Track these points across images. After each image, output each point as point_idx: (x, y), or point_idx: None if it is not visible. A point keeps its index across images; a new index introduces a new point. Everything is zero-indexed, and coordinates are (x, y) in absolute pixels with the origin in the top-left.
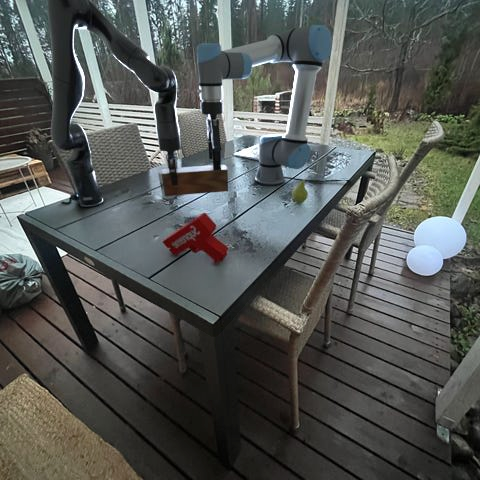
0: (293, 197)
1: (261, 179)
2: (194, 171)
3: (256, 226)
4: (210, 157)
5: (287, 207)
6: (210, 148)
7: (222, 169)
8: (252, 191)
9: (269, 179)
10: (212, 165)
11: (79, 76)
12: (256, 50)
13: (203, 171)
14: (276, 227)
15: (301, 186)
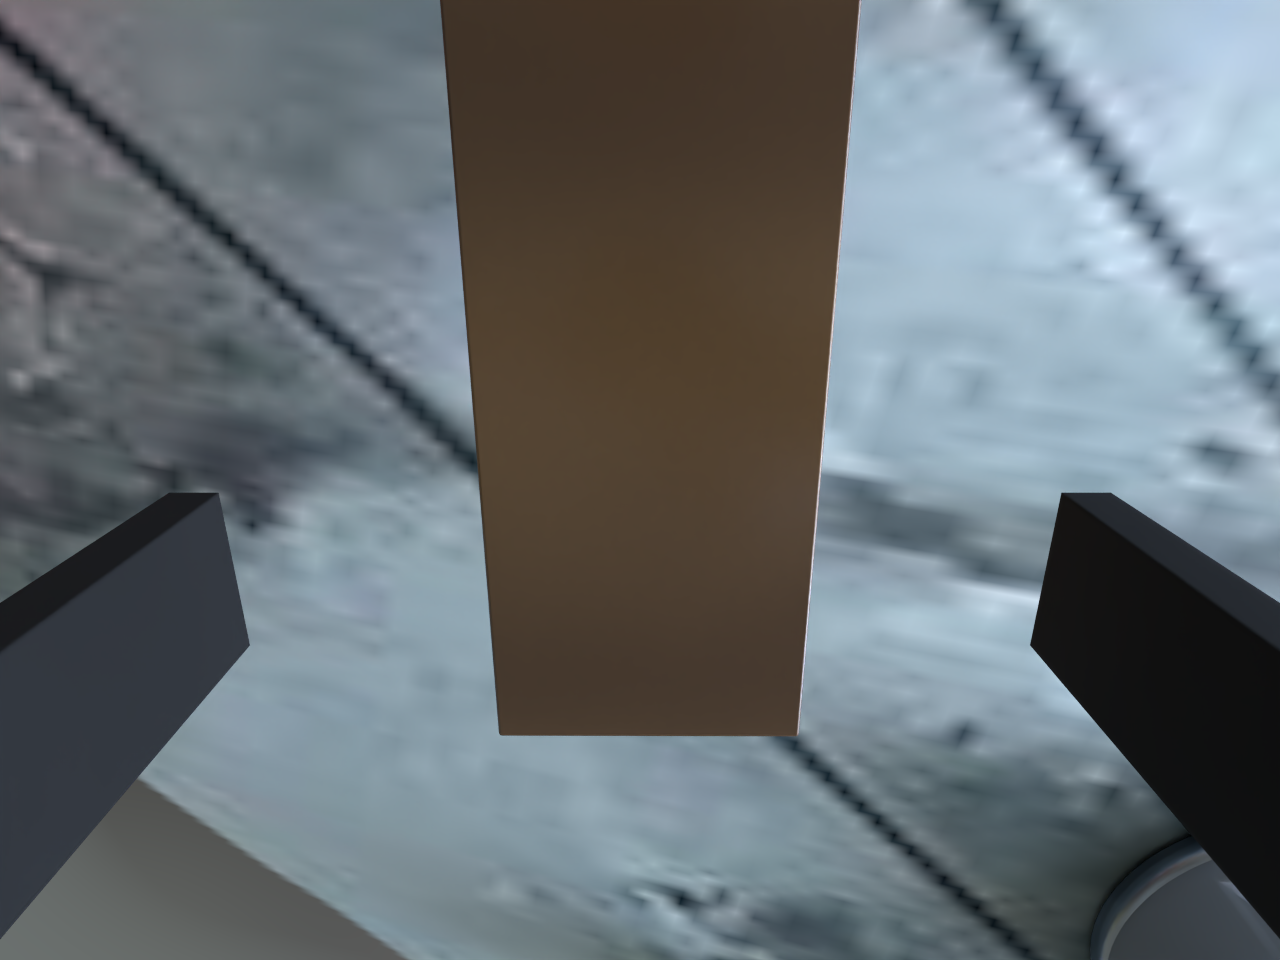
0: None
1: (1204, 885)
2: (445, 22)
3: (345, 618)
4: (1081, 542)
5: (626, 896)
6: (1251, 700)
7: (503, 654)
8: (1039, 738)
9: (1147, 947)
10: (810, 503)
11: None
12: None
13: (462, 261)
14: (316, 744)
15: None
